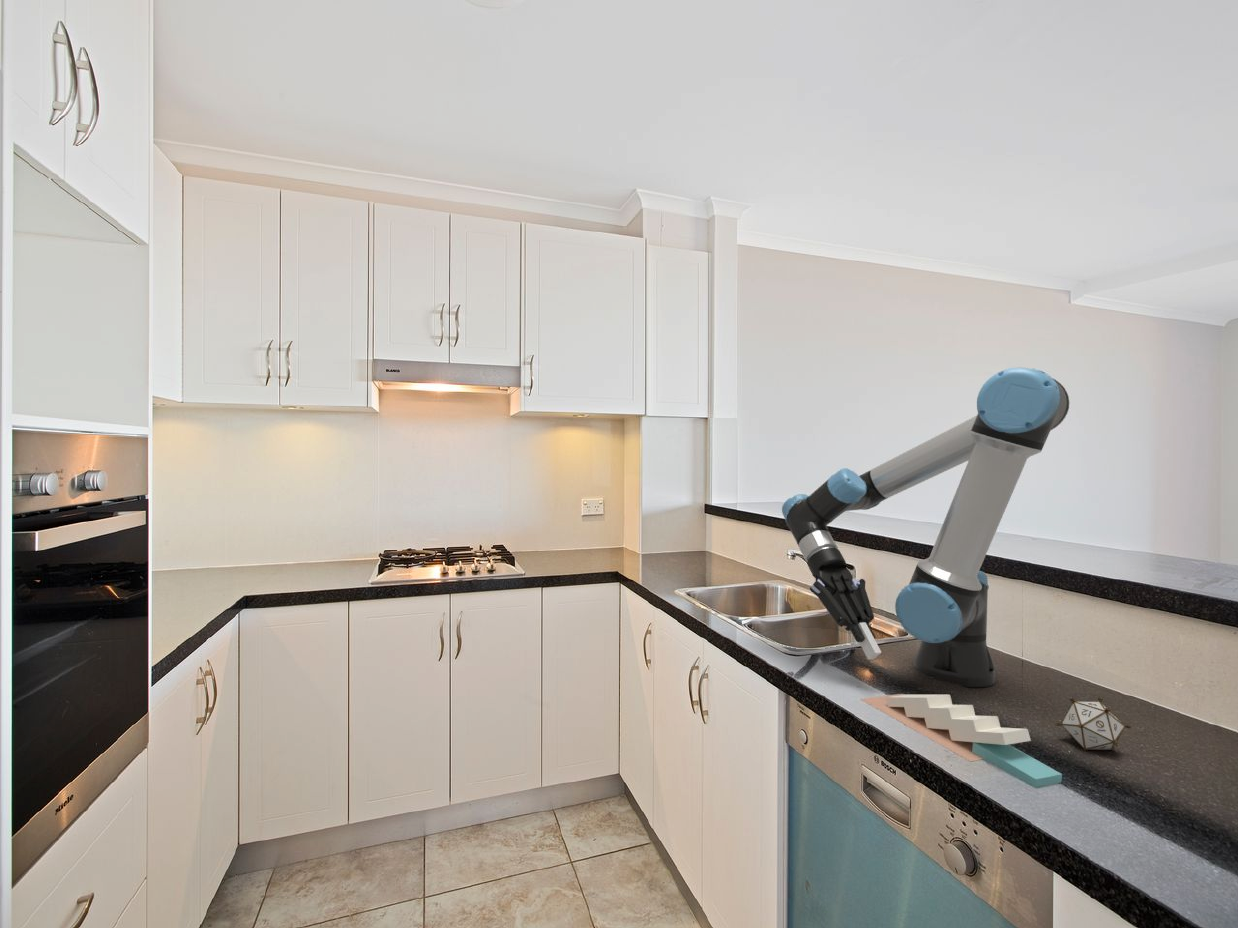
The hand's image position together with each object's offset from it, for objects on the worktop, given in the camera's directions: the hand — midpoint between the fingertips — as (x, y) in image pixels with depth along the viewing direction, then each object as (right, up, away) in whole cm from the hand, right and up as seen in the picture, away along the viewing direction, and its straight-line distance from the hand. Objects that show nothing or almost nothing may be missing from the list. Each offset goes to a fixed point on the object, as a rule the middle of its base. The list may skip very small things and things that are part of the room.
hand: (874, 655), depth 116 cm
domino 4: (+6, -6, -19) cm, 21 cm away
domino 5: (+7, -6, -23) cm, 25 cm away
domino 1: (+2, -6, -6) cm, 9 cm away
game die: (+26, -8, -21) cm, 34 cm away
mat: (+4, -8, -13) cm, 16 cm away
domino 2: (+3, -6, -10) cm, 12 cm away
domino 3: (+4, -6, -14) cm, 16 cm away
